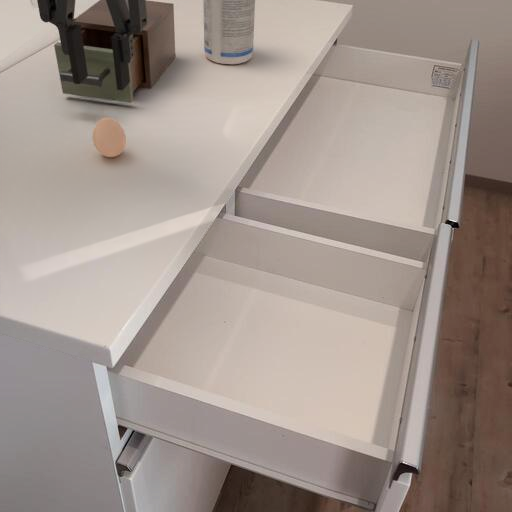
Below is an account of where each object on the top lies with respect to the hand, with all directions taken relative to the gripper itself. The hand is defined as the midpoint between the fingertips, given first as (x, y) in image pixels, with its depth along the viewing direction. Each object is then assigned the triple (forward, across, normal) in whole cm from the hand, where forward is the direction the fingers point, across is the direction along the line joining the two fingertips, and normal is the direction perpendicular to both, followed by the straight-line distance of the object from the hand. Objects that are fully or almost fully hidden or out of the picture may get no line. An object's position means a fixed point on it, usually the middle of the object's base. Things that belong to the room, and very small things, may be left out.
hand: (102, 82), depth 70 cm
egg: (+11, 0, 0) cm, 11 cm away
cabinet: (+11, -8, +30) cm, 33 cm away
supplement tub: (+11, +8, +41) cm, 43 cm away
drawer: (+10, -8, +19) cm, 23 cm away
